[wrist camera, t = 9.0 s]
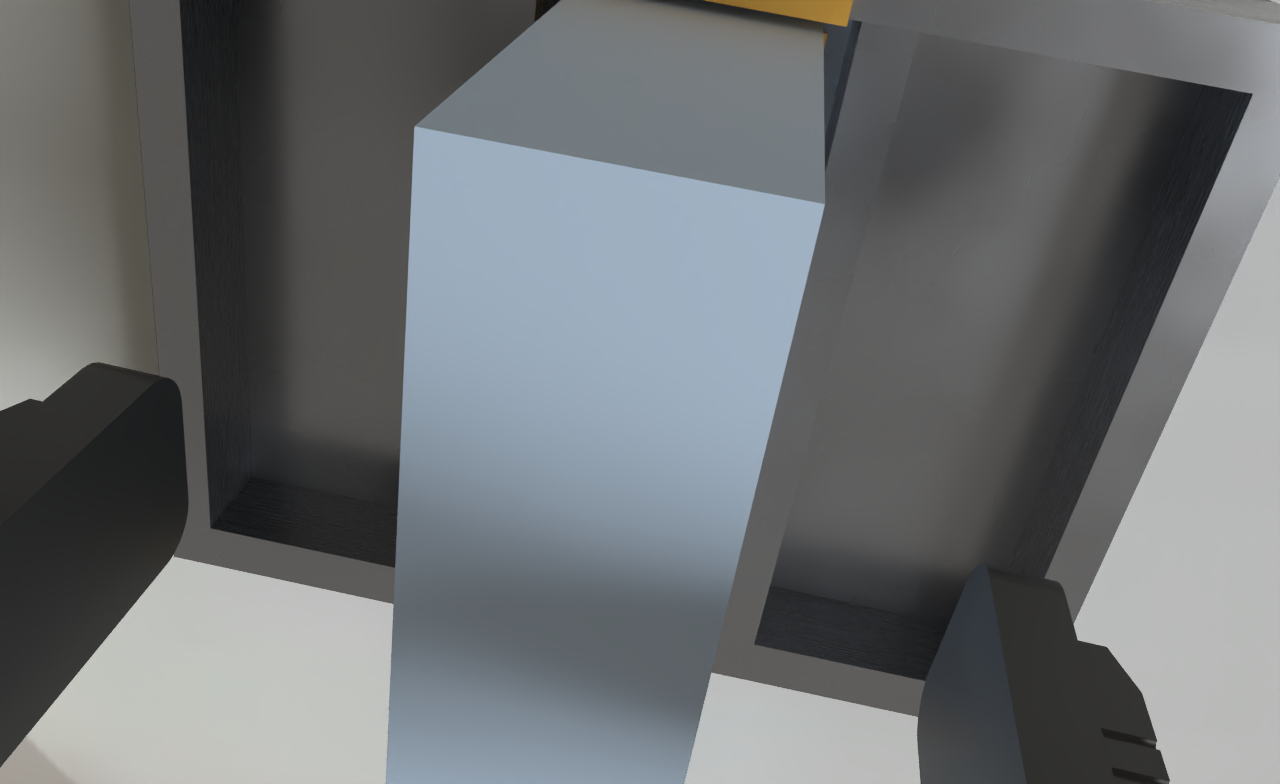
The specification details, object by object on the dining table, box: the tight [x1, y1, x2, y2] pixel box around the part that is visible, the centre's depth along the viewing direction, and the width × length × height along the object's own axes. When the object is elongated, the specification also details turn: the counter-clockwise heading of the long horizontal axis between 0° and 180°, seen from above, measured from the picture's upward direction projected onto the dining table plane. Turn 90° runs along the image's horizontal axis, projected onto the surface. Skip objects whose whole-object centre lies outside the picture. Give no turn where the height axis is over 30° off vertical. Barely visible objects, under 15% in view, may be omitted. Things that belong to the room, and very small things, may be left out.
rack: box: [129, 0, 1280, 717], centre depth 17 cm, size 12×15×3 cm
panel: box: [386, 0, 825, 784], centre depth 14 cm, size 9×3×8 cm, turn 172°
